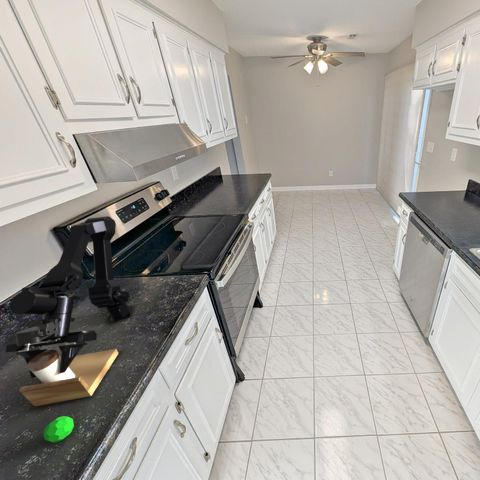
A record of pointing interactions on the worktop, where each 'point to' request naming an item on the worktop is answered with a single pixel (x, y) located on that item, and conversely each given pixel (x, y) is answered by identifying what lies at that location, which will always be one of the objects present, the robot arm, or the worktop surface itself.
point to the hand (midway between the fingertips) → (48, 375)
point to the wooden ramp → (73, 380)
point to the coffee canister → (48, 367)
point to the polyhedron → (58, 429)
